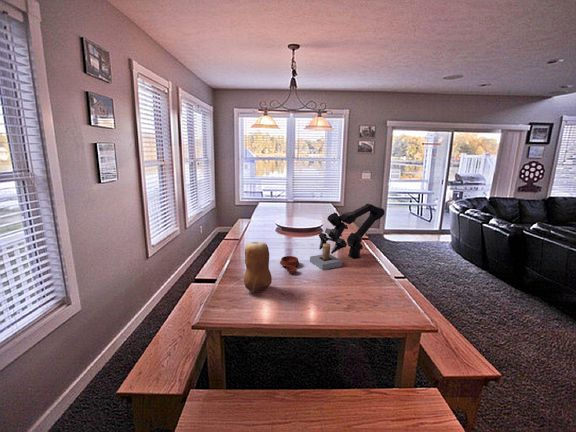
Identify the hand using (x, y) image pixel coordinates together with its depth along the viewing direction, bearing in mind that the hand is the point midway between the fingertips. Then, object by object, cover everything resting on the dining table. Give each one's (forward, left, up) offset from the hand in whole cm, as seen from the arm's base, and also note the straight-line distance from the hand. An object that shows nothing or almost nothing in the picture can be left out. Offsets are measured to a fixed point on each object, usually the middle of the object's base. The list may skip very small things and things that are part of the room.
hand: (325, 251), depth 178 cm
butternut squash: (+50, +15, -9) cm, 53 cm away
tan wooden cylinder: (-1, 0, -8) cm, 9 cm away
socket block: (-1, 0, -8) cm, 9 cm away
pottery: (+22, -3, -9) cm, 24 cm away
